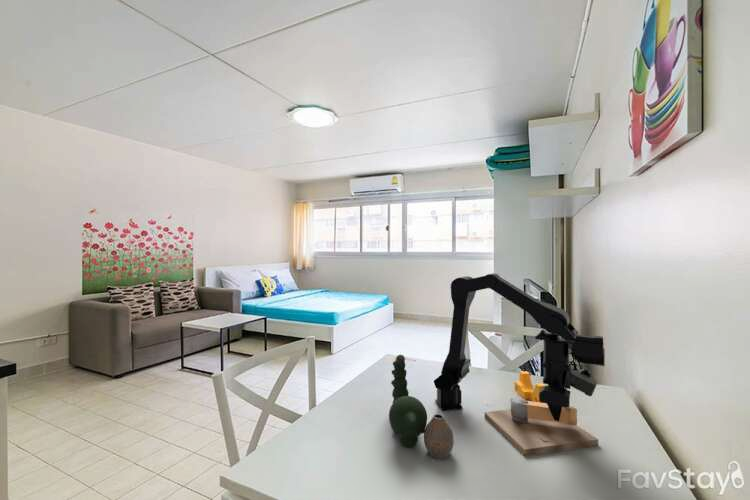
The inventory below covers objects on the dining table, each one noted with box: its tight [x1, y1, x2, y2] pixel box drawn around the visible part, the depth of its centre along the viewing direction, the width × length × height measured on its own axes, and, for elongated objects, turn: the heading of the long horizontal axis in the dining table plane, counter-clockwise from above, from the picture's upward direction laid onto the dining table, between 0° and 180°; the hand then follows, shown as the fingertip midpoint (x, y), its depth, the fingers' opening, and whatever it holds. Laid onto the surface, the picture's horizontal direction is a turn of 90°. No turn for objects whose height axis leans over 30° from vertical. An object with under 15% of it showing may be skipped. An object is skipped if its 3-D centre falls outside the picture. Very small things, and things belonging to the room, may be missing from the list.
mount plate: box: [484, 408, 599, 457], centre depth 88 cm, size 20×18×3 cm
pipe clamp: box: [514, 370, 548, 404], centre depth 107 cm, size 12×4×6 cm, turn 3°
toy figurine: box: [388, 354, 428, 448], centre depth 88 cm, size 9×19×25 cm
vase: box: [423, 413, 455, 459], centre depth 79 cm, size 7×7×9 cm
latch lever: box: [510, 397, 578, 426], centre depth 88 cm, size 16×4×4 cm, turn 70°
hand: (556, 420), depth 85 cm, fingers closed
